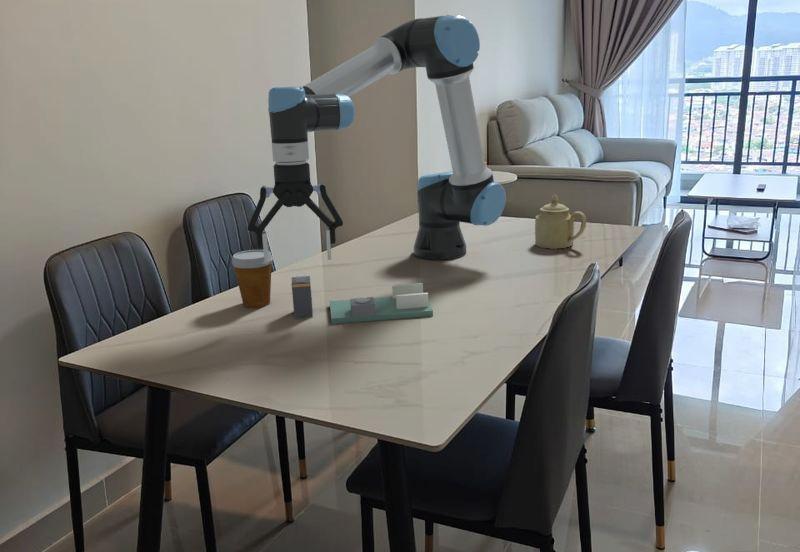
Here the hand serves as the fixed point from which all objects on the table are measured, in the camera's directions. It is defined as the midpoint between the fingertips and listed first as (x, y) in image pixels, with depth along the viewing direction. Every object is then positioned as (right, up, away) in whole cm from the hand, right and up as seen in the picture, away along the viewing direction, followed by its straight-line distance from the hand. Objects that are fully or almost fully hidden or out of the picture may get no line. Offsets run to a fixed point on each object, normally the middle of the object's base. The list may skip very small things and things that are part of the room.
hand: (298, 260), depth 156 cm
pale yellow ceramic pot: (+70, +5, +54) cm, 88 cm away
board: (+18, -11, +4) cm, 21 cm away
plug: (+1, -12, +4) cm, 13 cm away
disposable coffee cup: (-11, -10, +12) cm, 20 cm away
